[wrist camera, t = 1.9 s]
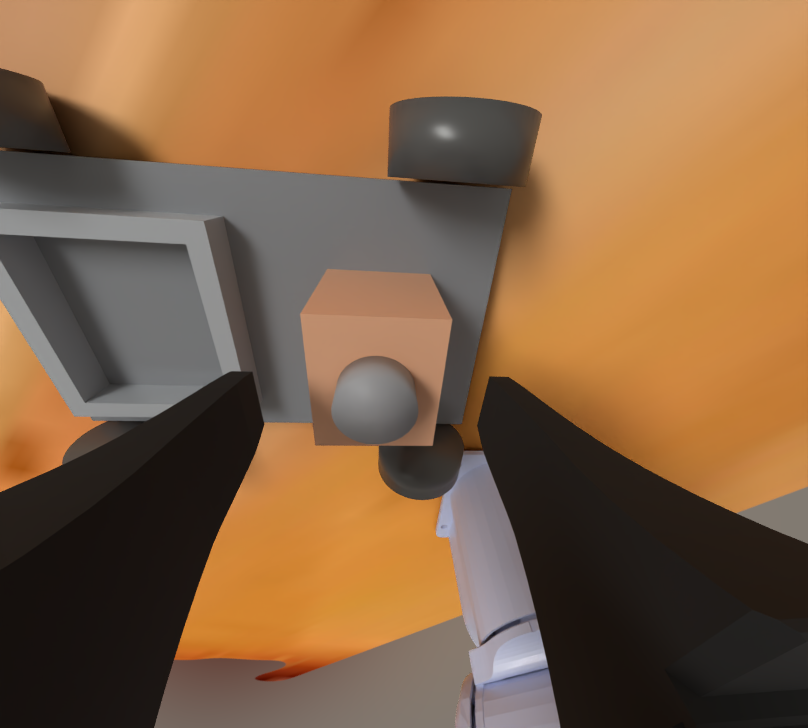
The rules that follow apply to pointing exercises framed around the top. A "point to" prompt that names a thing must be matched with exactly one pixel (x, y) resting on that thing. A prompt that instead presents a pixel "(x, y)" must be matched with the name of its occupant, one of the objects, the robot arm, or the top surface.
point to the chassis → (244, 262)
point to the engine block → (375, 357)
